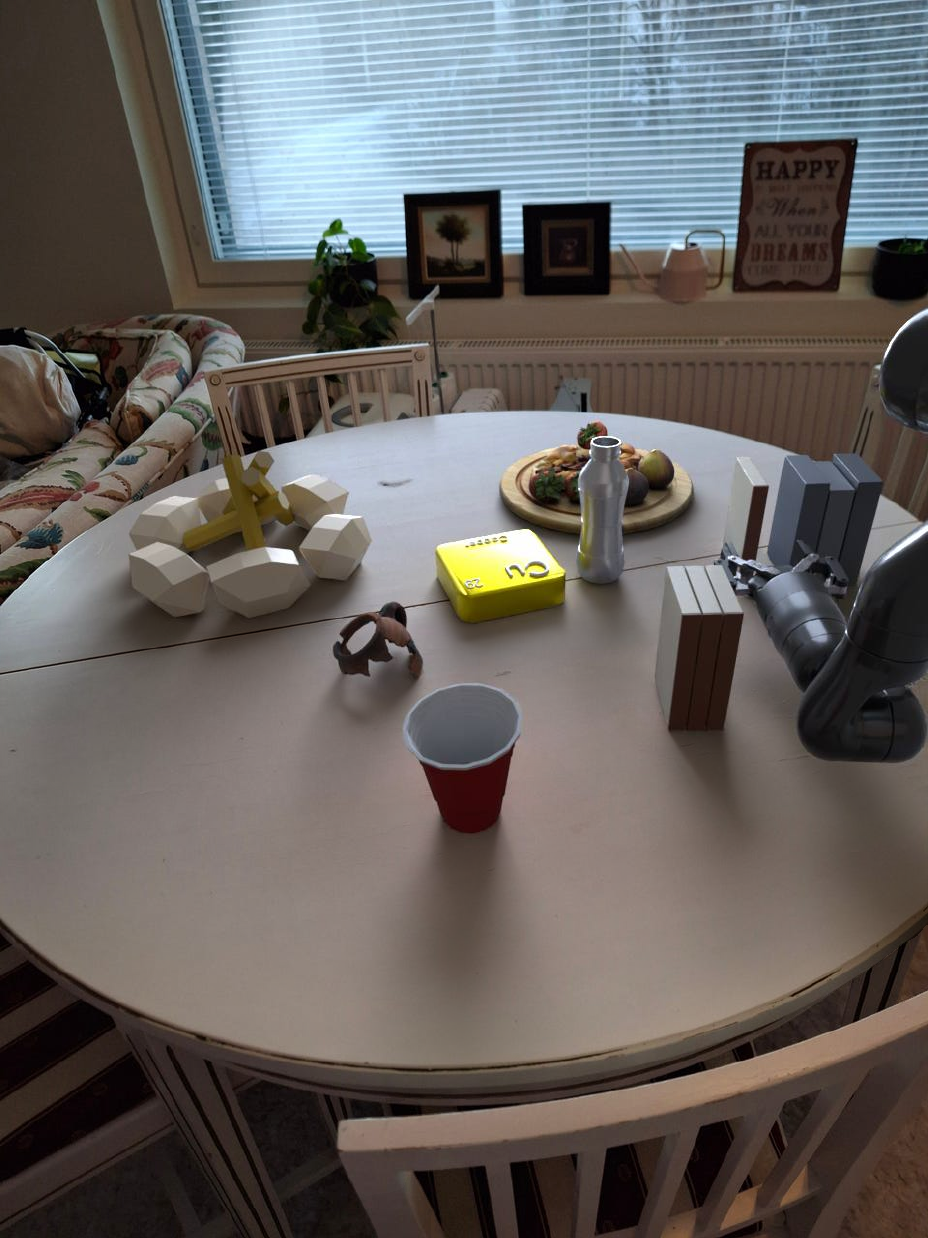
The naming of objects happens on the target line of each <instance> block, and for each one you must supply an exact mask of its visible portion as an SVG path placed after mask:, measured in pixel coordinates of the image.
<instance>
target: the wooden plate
mask: <svg viewBox="0 0 928 1238" xmlns="http://www.w3.org/2000/svg"><path fill="white" fill-rule="evenodd" d="M579 428H580V429H579V431H578V432H577V436H576V440H577V444H570V445H567V444H562V445H559V446H557V447H552V448H551V447H550V448H547V449H542V450H540V451H536V452H534V453H530V454H529V455H526V456H523V457H522V458H520V459H518V460H515V462H513V463H512V464H511V465H510V466H509V467H507V469H506V470H505V471H504V472H503V474H502V475H501V477H500V480H499V483H498V491H499V495H500V498H501V500H502V501H503V503H504V505H505V506H506V507H507V508H508V509H509V510H510V511H511V512H513V513H514V514H515V515H516V516H518V517H520V518H522V519H523V520H525V521H527V522H530V523H532V524H535V525H537V526H539V527H543V528H547V529H550V530H555V531H559V532H562V533H563V532H564V533H571V534H577V535H580V533H581V518H582V517H581V503H580V495H579V488H578V478H579V475H580V472H581V470H582V469H583V468H584V466H585V465H586V464H587V463H588V462H589V461H590V459H591V457H590V455H589V453H590V449H591V441H592V439H594V438H597V437H603V436H607V437H609V436H608V433H609V432H608V429H607V427H606V425H605V424H604V423H603V422H601V421H592V422H590V423H589V422H588V423H587V425H586V427H581V426H580V427H579ZM620 443H621V446H620V451H621V456H620V457H619V458H618V460H619V461H620V463H621V464H622V465H623V467H624V468H625V470H626V472H627V474H628V478H629V486H628V491H627V495H626V500H625V505H624V512H623V518H622V520H623V521H622V535H625V534H631V533H637V532H643V531H647V530H650V529H654V528H656V527H660V526H661V525H664V524H668V522H671V521H673V520H674V519H676V518H677V517H679V516H680V515H682V514H683V513H684V511H686V509H687V508H688V507H689V506H690V504H691V502H692V501H693V497H694V492H695V491H694V489H695V488H694V483H693V480H692V478H691V476H690V474H689V473H688V472H687V471H686V470H685V469H684V468H683V467H681V466H680V465H679V464H678V463H676V462H675V461H673V460H671V458H669V457H670V456H668V455H667V454H666V453H665V452H663V451H662V450H660V449H657V448H653V449H652V450H650V451H648V450H645V449H640V448H636V447H634V446H633V445H631V444H630V443H627V442H626V443H623V442H620Z"/></svg>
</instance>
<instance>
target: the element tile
mask: <svg viewBox="0 0 928 1238" xmlns="http://www.w3.org/2000/svg"><path fill="white" fill-rule="evenodd" d="M434 555H435V566H436V567H435V568H436V576H437V578H438V580H439V583H440V584H441V586H442V589H443V590H444V592H445V594H446V596H447V597H448V600H449V601H450V604H451V605H452V608H453V609H454V612H455V613H456V615H457V618H459V619H460V620H461V621H462V622H465V623H468V624H469V623H471V624H474V623H482V622H486V621H492V620H496V619H502V618H505V617H506V618H507V617H510V616H515V615H521V614H525V613H530V612H535V611H539V610H544V609H550V608H554V607H558V606H560V605H562V604H563V603H564V602H565V600H566V579H567V578H566V576H567V575H566V570H565V569H564V568H563V566H562V565H561V564H560V563H559V562H558V560H557V559H556V558H555V557H554V555H553V554H552V553H551V551H550V550H549V548H547V546H546V545H545V544H544V543H543V541H542V540H541V538H540V537H539V536H538V535H537V534H536V533H535V532H534V531H531V530H530V529H519V530H513V531H507V532H501V533H497V534H491V535H487V536H485V535H484V536H480V537H475V538H469V539H463V540H458V541H453V542H447V543H443V544H440V545H438V546H437V547H436V548H435V550H434Z"/></svg>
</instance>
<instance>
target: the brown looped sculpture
mask: <svg viewBox="0 0 928 1238" xmlns="http://www.w3.org/2000/svg"><path fill="white" fill-rule="evenodd" d="M407 618H408V617H407V612H406V609H405V607H404V606H403V605H402V604H401V603H399V602H398V601H390V602H387V603H385V604H384V605H383V606H382V607H381V608H380V609H379V612H378V613H377V612H374V611H367V612H363V613H361V614H358V615H357V616H355V617H354V618H352V619H351V620H350V621H349V622H348V623H346V625H344V626H343V628H342V629H341V630H340V632H339V636H340V637H341V638H342V641H341V642H340V641H339V640H336V641H335V643H334V644H333V646H332V653H333V657H334V658H335V660H337V662H338V667H339V670H340V672H342V674H344V675H348V676H355V675H362V676H365V677H368V678H369V677H371V674H370V666H369V665H370V663H369V662H370V661H372V662H373V663H380V662H381V663H382V662H383V663H389V662H391V661H392V660H393V659H394V656H393V655H392V654H391V653H390V652H389V647H388V646H387V642H388V643H389V644H394V645H395V646H396V647H399V648H405V647H406V648H407V651H408V653H409V654H411V658H410V661H409V663H408V665H407V669H408V670H409V671H410V672H411V673H412V675H413V677H414V679H417V678H419V676H420V674H421V672H422V670H423V664H424V660H423V657H422V655H421V653H420V651H419V649H418V647H417V646H416V644H415V641H414V640H413V638H412V636H411V633H410V632H409V631H408V630H407V625H408V619H407ZM372 622H373V623H374V624H375V631H374V633H373V635H372V636H371V639H369V641H368V642H367V643H366V644H365V645H364V646H363V647H362V648H361V649H359V650H358V651H357V652H353V653H352V651H351V650H349V648H348V643H349V641H350V640H351V638H352V637H353V636H354V635H355V634H356V633H357V632H358V631H359V630H360V629H362V628H363V627H364V626H366V625H368V624H370V623H372ZM386 641H387V642H386ZM369 660H370V661H369Z"/></svg>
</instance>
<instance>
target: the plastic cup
mask: <svg viewBox="0 0 928 1238" xmlns="http://www.w3.org/2000/svg"><path fill="white" fill-rule="evenodd" d="M521 710H522V709H521V708H520V706H519V704H518V702H517V700H516V699H515V698H513V696H511V695H510V694H508V693H507V692H506V691H505V690H503V689H502V688H498V687H496V686H492V685H489V684H485V683H483V682H481V683H479V682H478V683H476V682H471V683H469V682H467V683H466V682H464V683H462V682H459V683H455V684H452V685H451V684H450V685H447V686H443V687H440V688H436V689H435V690H433V691H432V692H430V693H428V694H426V695H425V696H423V697H421V698H420V699H419V700H418V701H417V702H416V703H415V704H414V705H413V706H412V708H411V709H409V711H408V712H407V713H406V715H405V719H404V722H403V726H402V728H401V732H402V735H403V736H402V737H403V740H404V743H405V747H406V748H407V749H408V751H410V752H411V754H412V755H413V756H414V757H415V758H416V759H417V760H418V762H419V764H420V765H421V767H422V769H423V772H424V774H425V777H426V780H427V784H428V786H429V788H430V791H431V794H432V797H433V799H434V801H435V802H436V805H437V808H438V811H439V814H440V817H441V819H442V820H443V822H444V823H445V825H446V826H447V827H448V828H449V829H450V830H453V831H455V832H457V833H460V834H465V835H467V834H468V835H474V834H478V833H483V832H485V831H487V830H489V829H490V828H492V827H494V825H495V823H496V822H497V820H498V819H499V818H500V815H501V811H502V806H503V800H504V797H505V795H506V790H507V785H508V779H509V773H510V767H511V762H512V757H513V755H514V750H515V747H516V742H517V741H518V740H519V738H520V736H521V732H522V724H523V718H524V715H523V712H522V711H521Z"/></svg>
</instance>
